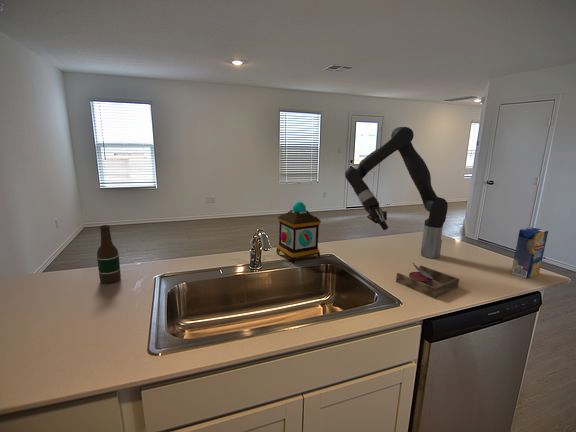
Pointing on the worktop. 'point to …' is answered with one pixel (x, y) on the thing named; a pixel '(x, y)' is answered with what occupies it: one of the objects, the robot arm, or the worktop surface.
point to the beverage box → (529, 252)
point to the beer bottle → (108, 258)
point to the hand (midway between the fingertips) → (386, 229)
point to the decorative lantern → (298, 233)
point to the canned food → (421, 276)
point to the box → (428, 290)
